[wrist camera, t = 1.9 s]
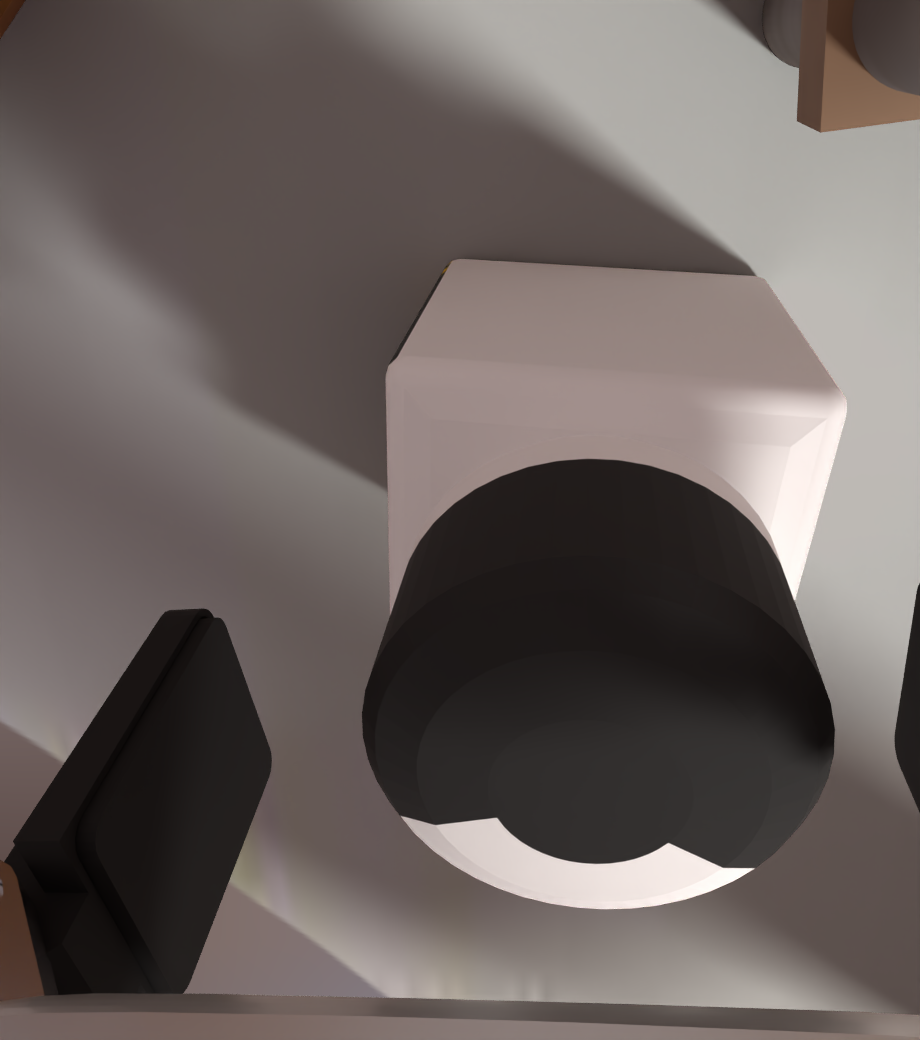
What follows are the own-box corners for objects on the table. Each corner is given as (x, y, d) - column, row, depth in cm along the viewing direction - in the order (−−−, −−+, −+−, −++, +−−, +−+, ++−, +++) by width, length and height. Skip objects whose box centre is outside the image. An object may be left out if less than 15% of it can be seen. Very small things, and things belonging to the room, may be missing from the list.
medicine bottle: (446, 254, 19) (283, 520, 9) (770, 272, 19) (995, 584, 8) (441, 525, 23) (322, 935, 13) (712, 549, 22) (818, 1003, 12)
